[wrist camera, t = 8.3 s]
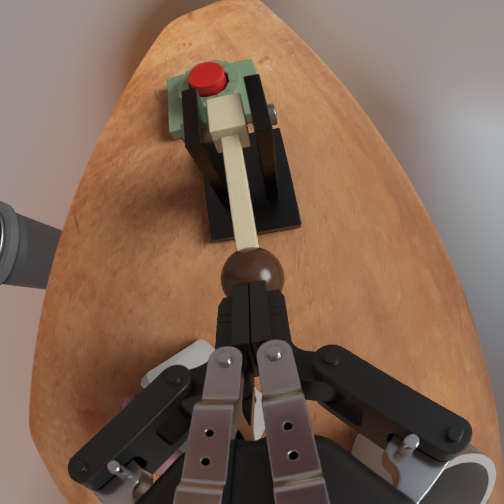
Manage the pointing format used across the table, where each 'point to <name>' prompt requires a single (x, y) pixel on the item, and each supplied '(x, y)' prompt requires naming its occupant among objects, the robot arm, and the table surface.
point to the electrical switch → (194, 358)
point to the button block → (233, 85)
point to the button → (207, 78)
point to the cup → (450, 480)
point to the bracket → (256, 163)
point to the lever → (240, 198)
